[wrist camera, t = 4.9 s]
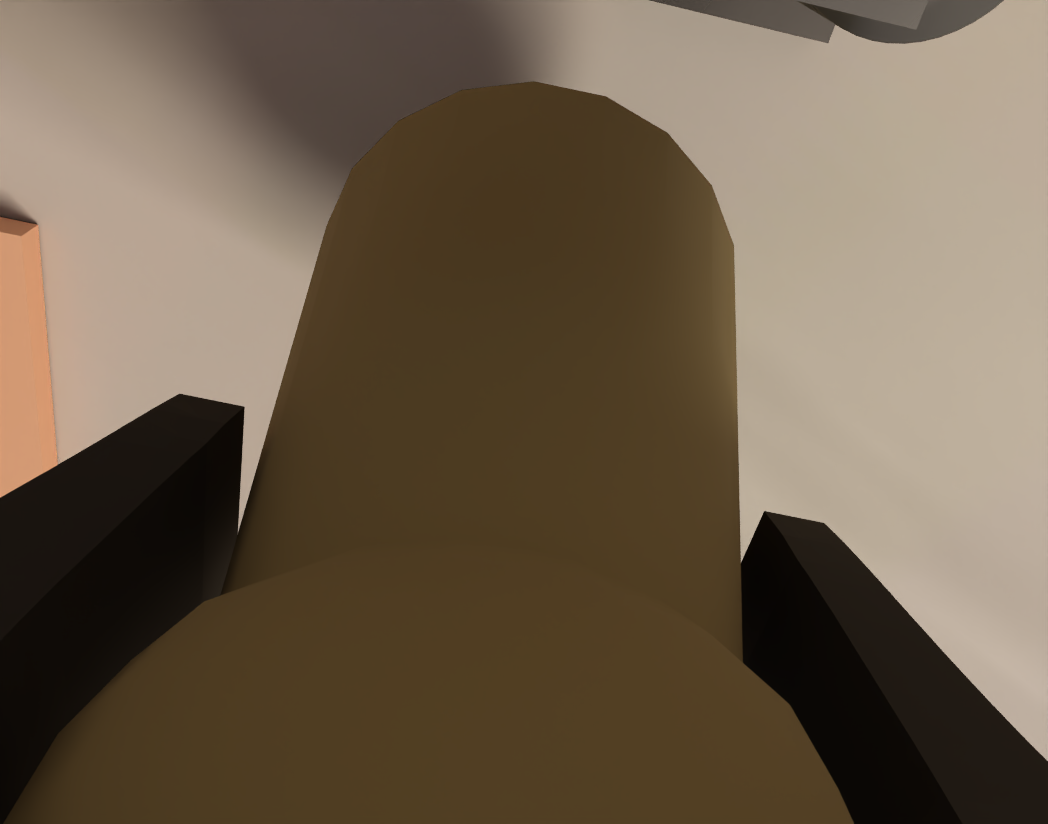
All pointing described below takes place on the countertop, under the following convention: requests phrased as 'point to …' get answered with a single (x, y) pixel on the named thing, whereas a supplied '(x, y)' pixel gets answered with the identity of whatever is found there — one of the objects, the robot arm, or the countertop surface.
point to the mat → (23, 360)
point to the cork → (478, 518)
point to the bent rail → (849, 16)
